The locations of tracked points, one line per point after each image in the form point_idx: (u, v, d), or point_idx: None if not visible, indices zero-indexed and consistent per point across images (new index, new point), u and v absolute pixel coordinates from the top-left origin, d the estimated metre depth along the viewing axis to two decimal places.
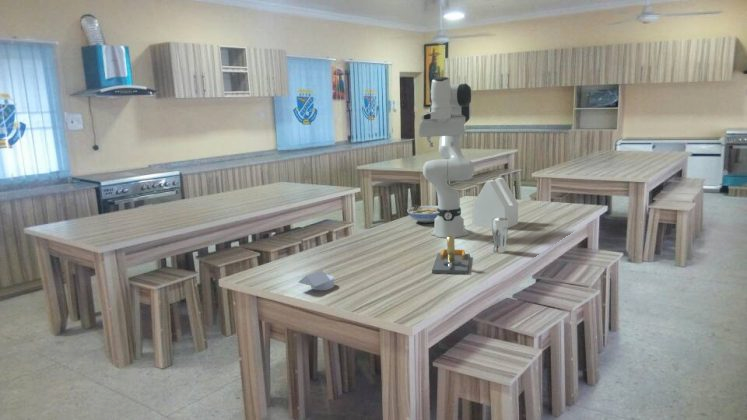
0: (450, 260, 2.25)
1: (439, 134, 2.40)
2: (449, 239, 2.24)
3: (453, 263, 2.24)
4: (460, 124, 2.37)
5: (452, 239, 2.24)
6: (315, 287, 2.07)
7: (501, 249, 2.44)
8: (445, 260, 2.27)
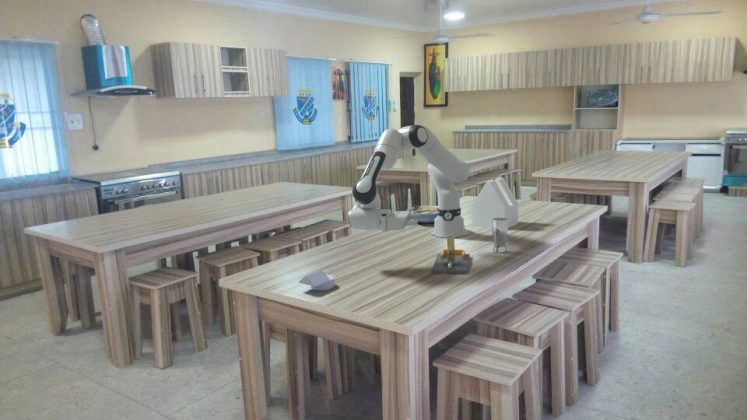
0: (450, 260, 2.25)
1: (405, 216, 2.26)
2: (449, 239, 2.24)
3: (453, 263, 2.24)
4: (399, 211, 2.36)
5: (452, 239, 2.24)
6: (315, 287, 2.07)
7: (501, 249, 2.44)
8: (445, 260, 2.27)
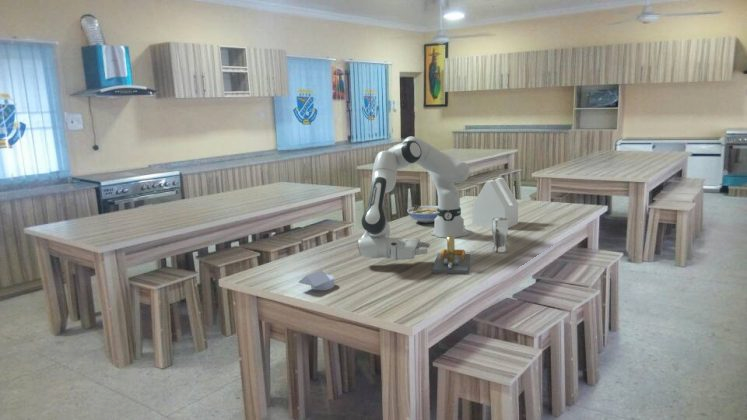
0: (450, 260, 2.25)
1: (414, 244, 2.27)
2: (449, 239, 2.24)
3: (453, 263, 2.24)
4: (408, 239, 2.37)
5: (452, 239, 2.24)
6: (315, 287, 2.07)
7: (501, 249, 2.44)
8: (445, 260, 2.27)
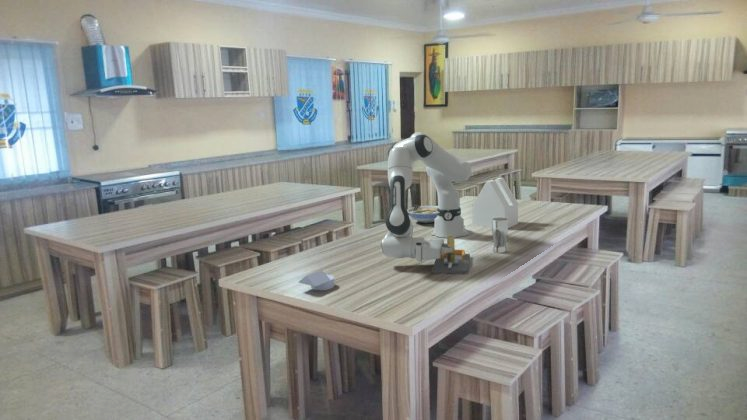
0: (450, 260, 2.25)
1: (439, 244, 2.25)
2: (449, 239, 2.24)
3: (453, 263, 2.24)
4: (432, 239, 2.35)
5: (452, 239, 2.24)
6: (315, 287, 2.07)
7: (501, 249, 2.44)
8: (445, 260, 2.27)
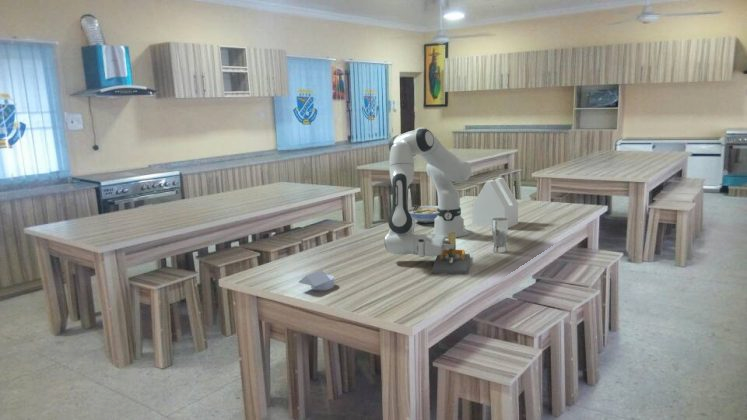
0: (451, 255, 2.32)
1: (441, 241, 2.32)
2: (450, 235, 2.30)
3: (454, 258, 2.31)
4: (434, 235, 2.41)
5: (453, 235, 2.30)
6: (315, 287, 2.07)
7: (501, 249, 2.44)
8: (446, 256, 2.34)
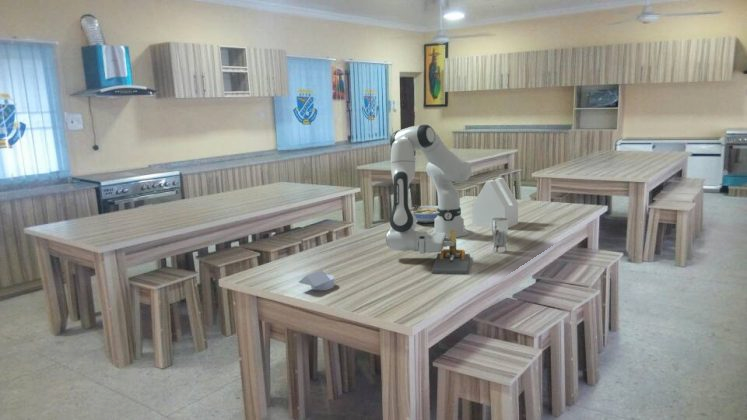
0: (452, 253, 2.35)
1: (442, 238, 2.36)
2: (451, 233, 2.34)
3: (455, 256, 2.34)
4: (435, 233, 2.45)
5: (454, 233, 2.34)
6: (315, 287, 2.07)
7: (501, 249, 2.44)
8: (447, 253, 2.37)
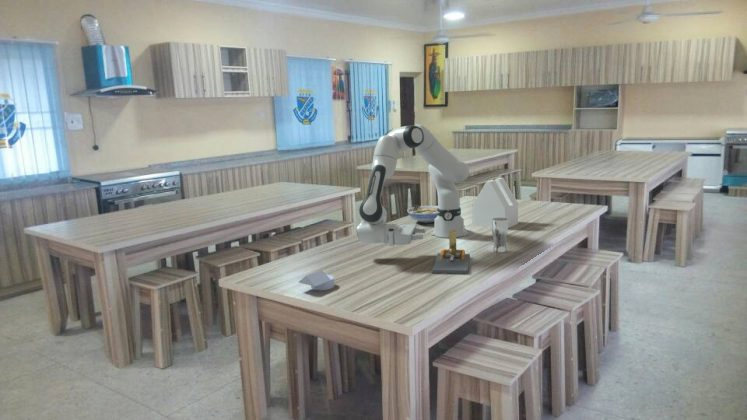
0: (452, 253, 2.35)
1: (411, 230, 2.38)
2: (451, 233, 2.34)
3: (455, 256, 2.34)
4: (405, 225, 2.48)
5: (454, 233, 2.34)
6: (315, 287, 2.07)
7: (501, 249, 2.44)
8: (447, 253, 2.37)
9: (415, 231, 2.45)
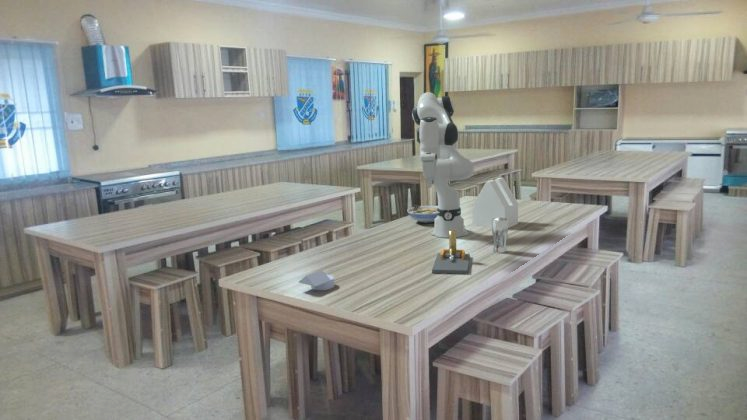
0: (452, 253, 2.35)
1: (434, 173, 2.40)
2: (451, 233, 2.34)
3: (455, 256, 2.34)
4: (436, 162, 2.48)
5: (454, 233, 2.34)
6: (315, 287, 2.07)
7: (501, 249, 2.44)
8: (447, 253, 2.37)
9: None
